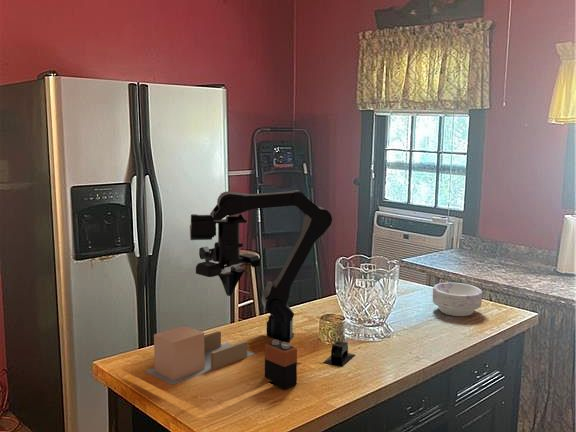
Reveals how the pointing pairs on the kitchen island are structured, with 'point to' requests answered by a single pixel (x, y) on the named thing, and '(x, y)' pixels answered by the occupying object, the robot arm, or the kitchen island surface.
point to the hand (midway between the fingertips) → (229, 295)
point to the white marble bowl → (457, 298)
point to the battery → (281, 364)
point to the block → (179, 352)
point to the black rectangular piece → (339, 354)
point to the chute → (213, 356)
